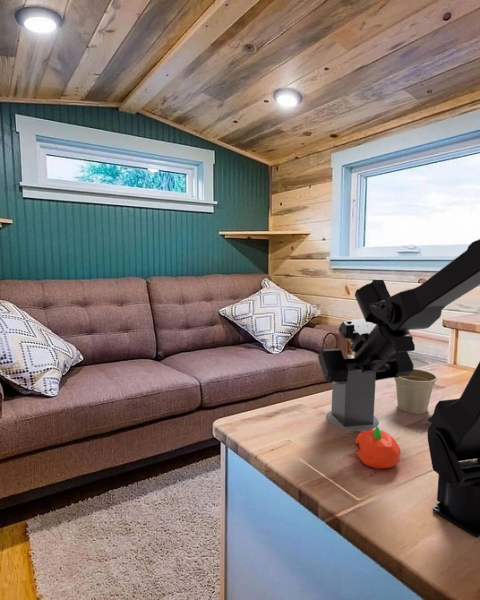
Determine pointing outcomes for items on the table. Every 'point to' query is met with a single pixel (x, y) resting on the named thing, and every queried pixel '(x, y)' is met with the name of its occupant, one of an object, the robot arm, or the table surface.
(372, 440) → the pumpkin
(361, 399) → the dark grey square block
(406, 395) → the flower pot
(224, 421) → the table surface
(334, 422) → the slate coaster
